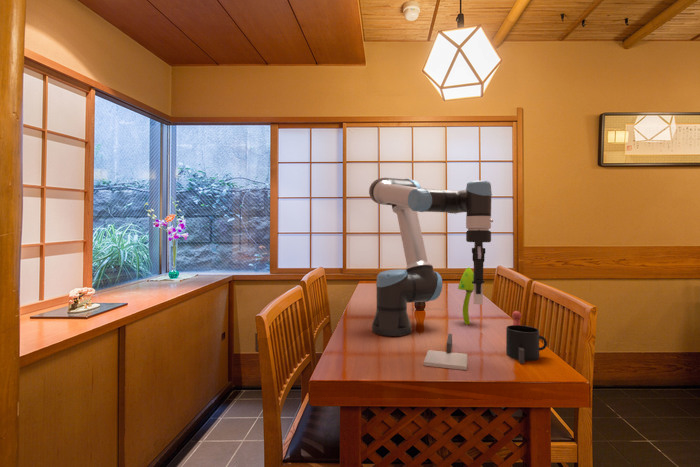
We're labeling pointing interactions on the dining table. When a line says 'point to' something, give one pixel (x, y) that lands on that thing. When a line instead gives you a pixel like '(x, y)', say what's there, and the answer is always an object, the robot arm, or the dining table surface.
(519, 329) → the mug
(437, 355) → the plate
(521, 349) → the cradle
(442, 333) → the dining table surface
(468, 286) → the mushroom
